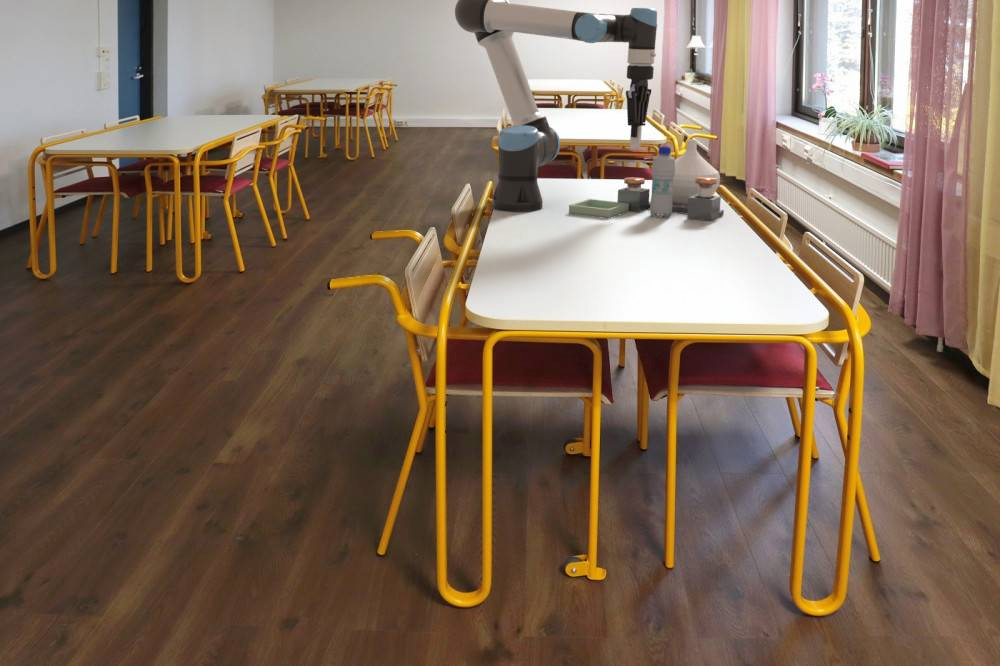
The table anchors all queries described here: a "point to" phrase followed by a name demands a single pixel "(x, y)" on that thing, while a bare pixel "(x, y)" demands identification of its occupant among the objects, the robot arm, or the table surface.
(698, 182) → the plunger right
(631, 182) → the plunger left
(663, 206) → the bottle
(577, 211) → the tray
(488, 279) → the table surface
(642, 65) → the robot arm
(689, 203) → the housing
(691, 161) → the vase
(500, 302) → the table surface
